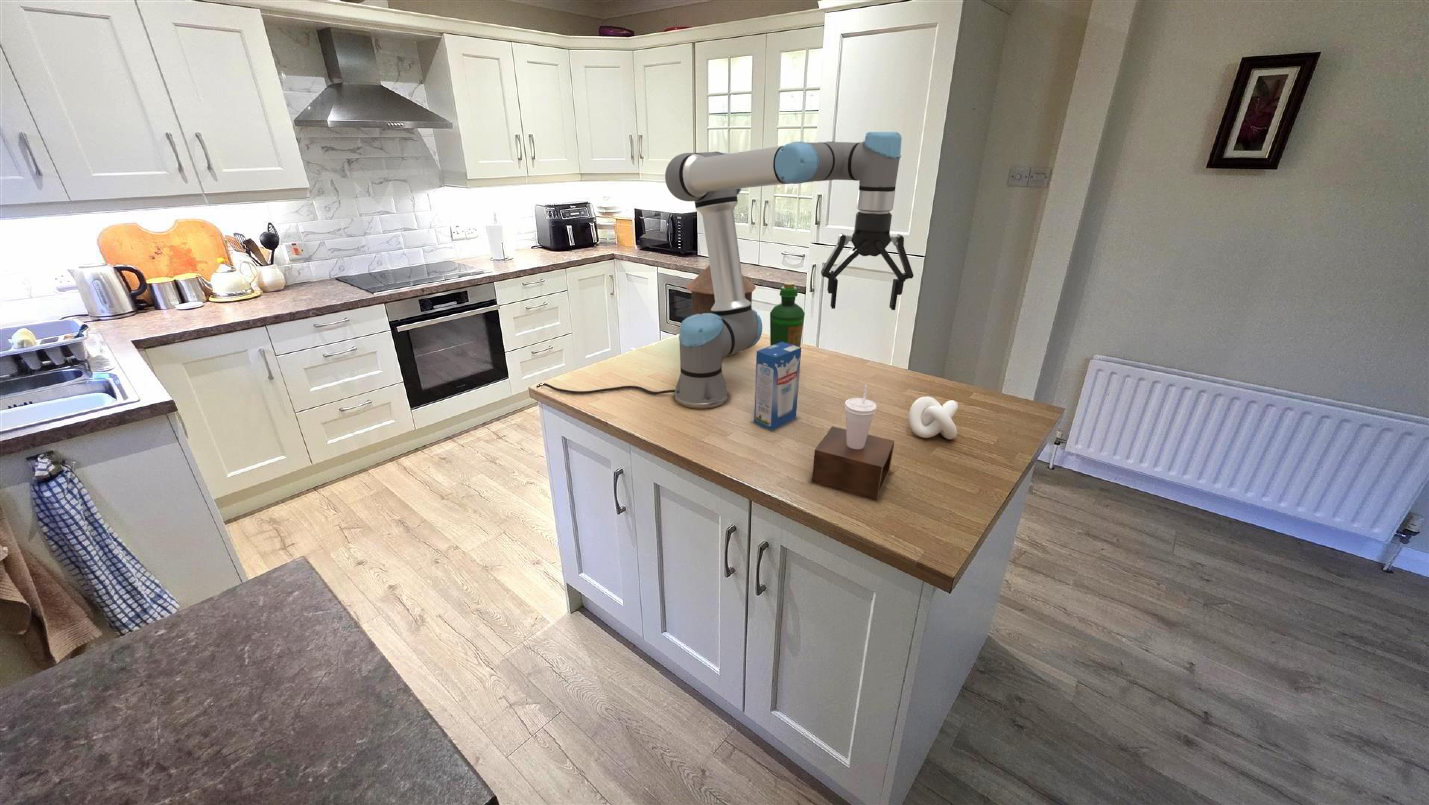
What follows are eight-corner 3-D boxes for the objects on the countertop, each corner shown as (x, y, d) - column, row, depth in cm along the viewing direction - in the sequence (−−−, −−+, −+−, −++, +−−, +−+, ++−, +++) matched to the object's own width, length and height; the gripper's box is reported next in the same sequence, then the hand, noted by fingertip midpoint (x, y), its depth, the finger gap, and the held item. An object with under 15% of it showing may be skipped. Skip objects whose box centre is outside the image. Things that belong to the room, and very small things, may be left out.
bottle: (802, 376, 171) (809, 287, 159) (768, 376, 172) (772, 287, 159) (798, 363, 181) (804, 279, 169) (766, 363, 181) (770, 279, 169)
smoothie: (871, 454, 114) (880, 392, 107) (840, 450, 115) (847, 389, 109) (870, 439, 119) (878, 380, 113) (840, 436, 120) (846, 377, 114)
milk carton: (778, 410, 150) (782, 341, 141) (796, 418, 146) (801, 347, 137) (753, 422, 143) (756, 350, 135) (771, 431, 139) (775, 357, 131)
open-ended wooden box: (811, 482, 119) (814, 449, 115) (828, 456, 128) (831, 425, 125) (876, 500, 113) (881, 466, 109) (889, 472, 122) (894, 440, 119)
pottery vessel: (725, 369, 176) (726, 276, 163) (670, 350, 192) (667, 264, 179) (773, 348, 194) (777, 263, 181) (719, 333, 209) (719, 253, 196)
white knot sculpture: (921, 417, 146) (927, 387, 142) (966, 433, 139) (974, 401, 135) (901, 432, 139) (906, 400, 135) (948, 449, 131) (955, 416, 127)
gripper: (928, 210, 120) (913, 304, 130) (814, 208, 122) (806, 302, 131) (938, 214, 114) (921, 313, 123) (817, 212, 115) (809, 311, 125)
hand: (862, 307), depth 127 cm, fingers open, 13 cm apart
